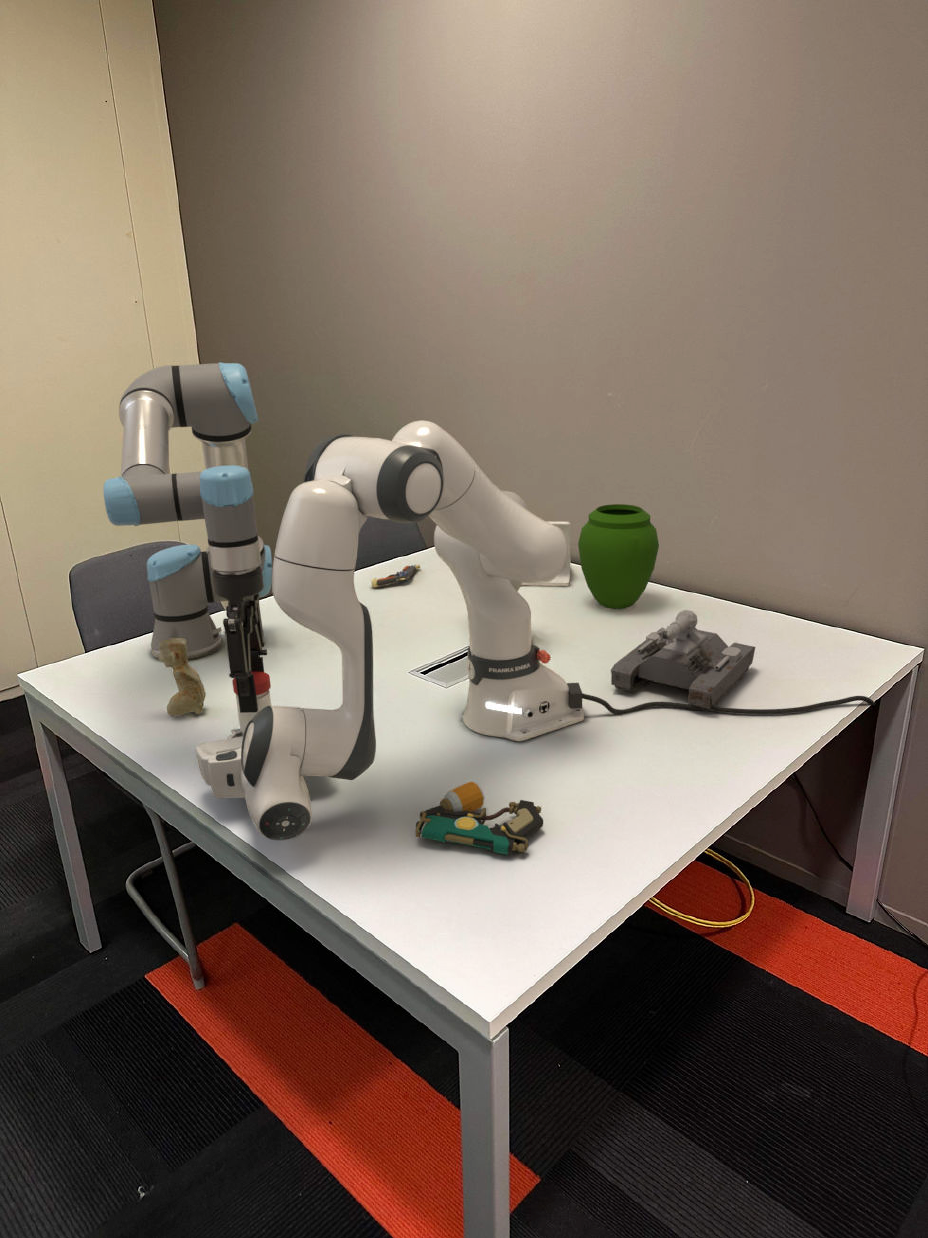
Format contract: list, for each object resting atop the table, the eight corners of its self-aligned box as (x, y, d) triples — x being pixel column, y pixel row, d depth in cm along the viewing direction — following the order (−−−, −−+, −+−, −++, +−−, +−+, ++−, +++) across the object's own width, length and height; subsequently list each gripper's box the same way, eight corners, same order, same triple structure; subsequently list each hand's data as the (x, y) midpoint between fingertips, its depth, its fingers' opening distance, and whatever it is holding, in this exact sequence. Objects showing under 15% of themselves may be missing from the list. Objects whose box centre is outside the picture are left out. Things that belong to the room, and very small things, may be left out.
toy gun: (368, 580, 231) (404, 577, 228) (387, 564, 248) (420, 561, 246) (370, 589, 231) (405, 586, 229) (389, 573, 249) (422, 570, 247)
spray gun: (554, 825, 127) (505, 884, 116) (460, 789, 135) (404, 841, 124) (556, 801, 125) (505, 859, 114) (460, 766, 133) (404, 817, 122)
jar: (243, 776, 142) (231, 692, 137) (248, 759, 147) (238, 678, 142) (275, 774, 142) (265, 691, 137) (280, 757, 147) (270, 677, 142)
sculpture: (171, 706, 167) (160, 635, 161) (209, 704, 167) (199, 633, 162) (165, 720, 161) (153, 647, 156) (204, 717, 162) (193, 644, 157)
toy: (661, 649, 187) (665, 584, 181) (753, 669, 176) (760, 600, 170) (609, 692, 167) (612, 620, 162) (708, 717, 156) (715, 641, 151)
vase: (599, 587, 227) (601, 497, 218) (668, 600, 216) (673, 505, 208) (562, 608, 212) (564, 513, 204) (634, 623, 202) (639, 523, 193)
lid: (276, 690, 139) (275, 680, 138) (241, 699, 136) (239, 689, 135) (262, 677, 143) (261, 668, 143) (228, 687, 140) (227, 677, 140)
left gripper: (228, 551, 141) (244, 678, 149) (194, 588, 123) (215, 730, 132) (273, 550, 141) (287, 677, 149) (246, 586, 123) (264, 729, 132)
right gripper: (333, 737, 133) (316, 701, 145) (197, 763, 126) (191, 723, 139) (337, 772, 135) (319, 734, 147) (203, 800, 129) (197, 757, 141)
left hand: (253, 702), depth 140 cm, fingers closed on lid, 6 cm apart
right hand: (256, 729), depth 143 cm, fingers closed on jar, 5 cm apart
